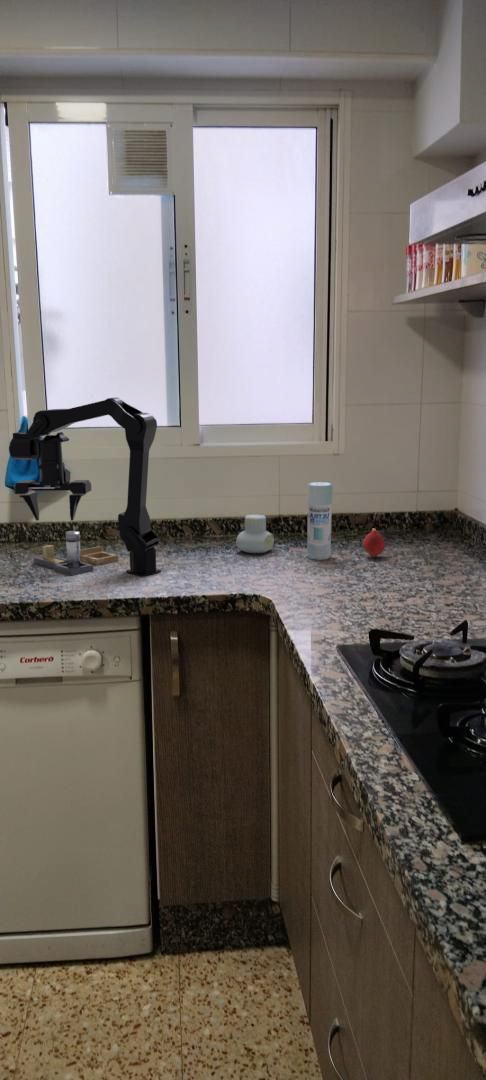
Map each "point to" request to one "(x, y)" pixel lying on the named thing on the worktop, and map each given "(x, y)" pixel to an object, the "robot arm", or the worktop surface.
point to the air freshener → (255, 535)
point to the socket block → (64, 566)
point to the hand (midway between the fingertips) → (55, 520)
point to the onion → (374, 543)
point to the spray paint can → (319, 520)
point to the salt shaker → (73, 549)
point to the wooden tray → (97, 556)
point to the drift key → (50, 554)
